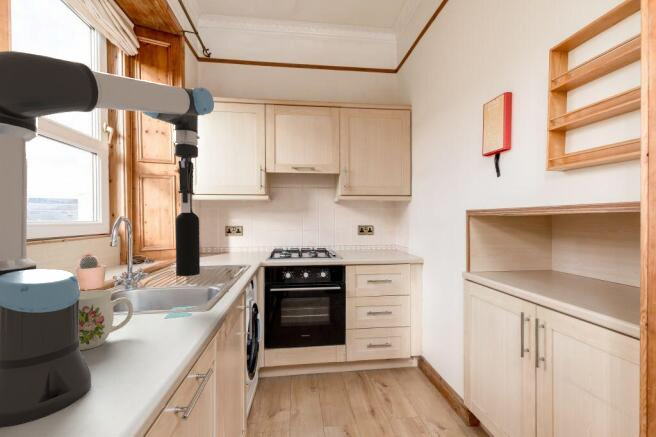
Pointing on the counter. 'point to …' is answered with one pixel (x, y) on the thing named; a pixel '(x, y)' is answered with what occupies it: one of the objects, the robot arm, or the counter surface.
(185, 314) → the mat
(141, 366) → the counter surface
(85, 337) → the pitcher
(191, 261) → the wine bottle
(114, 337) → the counter surface
